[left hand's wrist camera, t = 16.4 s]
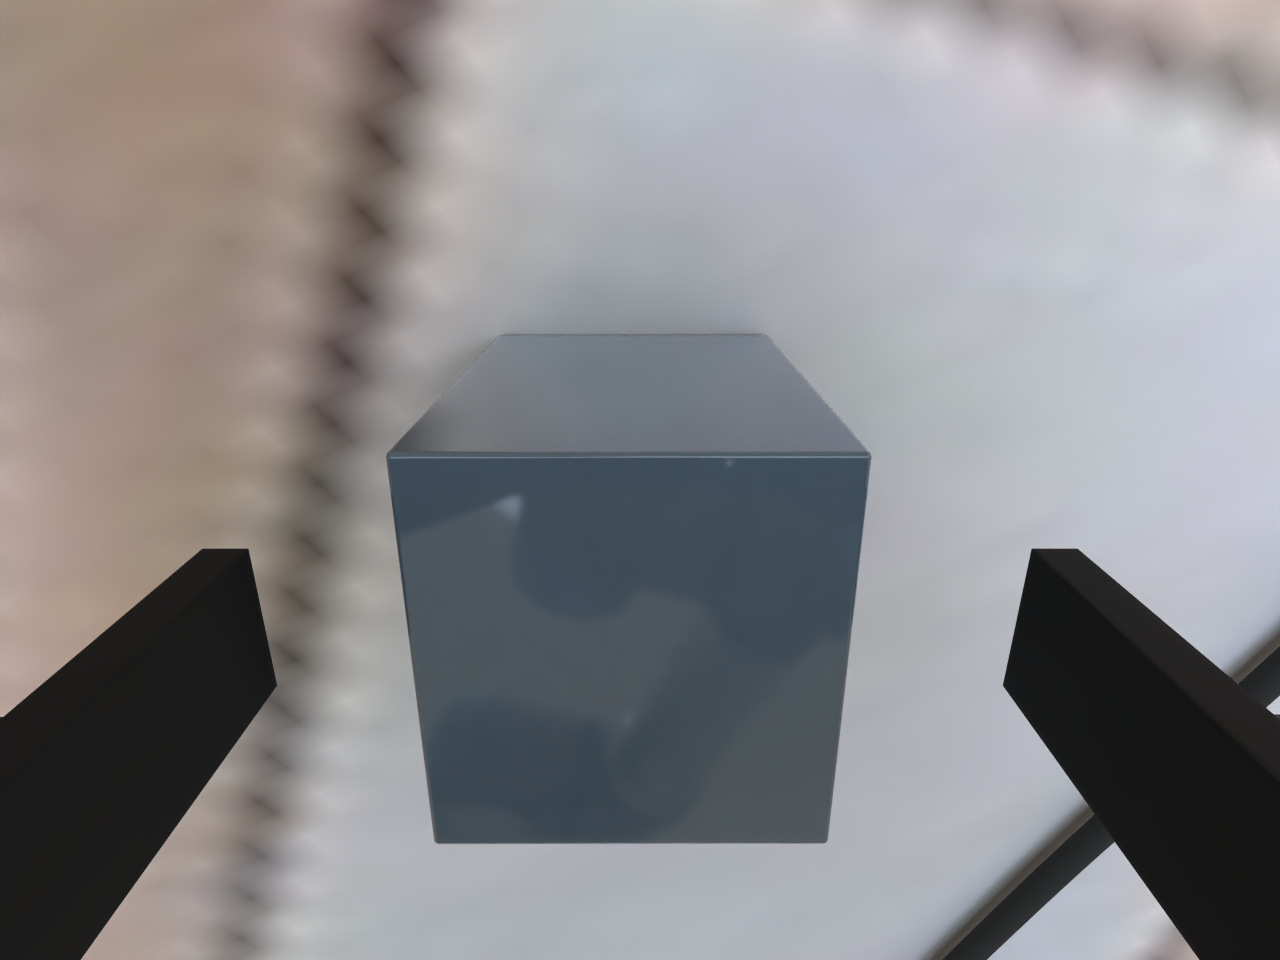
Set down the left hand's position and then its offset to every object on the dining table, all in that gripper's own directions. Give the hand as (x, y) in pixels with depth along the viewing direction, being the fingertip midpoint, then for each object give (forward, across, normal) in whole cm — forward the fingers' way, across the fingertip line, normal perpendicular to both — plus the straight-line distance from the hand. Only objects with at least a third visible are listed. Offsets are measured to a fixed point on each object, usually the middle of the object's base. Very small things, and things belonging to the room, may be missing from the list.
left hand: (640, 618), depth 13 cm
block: (+8, 0, 0) cm, 8 cm away
